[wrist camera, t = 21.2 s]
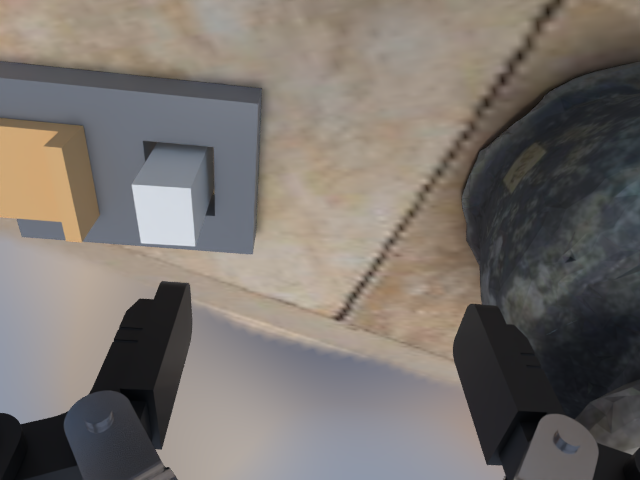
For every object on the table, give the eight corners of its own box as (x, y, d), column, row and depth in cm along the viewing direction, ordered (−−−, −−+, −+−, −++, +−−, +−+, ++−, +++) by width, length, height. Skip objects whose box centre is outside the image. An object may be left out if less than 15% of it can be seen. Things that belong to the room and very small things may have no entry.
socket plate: (-2, 61, 37) (-28, 74, 34) (261, 88, 38) (258, 103, 35) (40, 215, 45) (22, 237, 42) (255, 232, 46) (252, 254, 43)
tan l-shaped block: (-30, 115, 35) (-63, 136, 32) (83, 125, 36) (61, 147, 33) (0, 207, 40) (-26, 234, 37) (99, 215, 40) (81, 242, 37)
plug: (163, 132, 40) (131, 184, 33) (212, 135, 40) (190, 188, 33) (169, 184, 43) (141, 243, 36) (214, 187, 43) (195, 246, 36)
